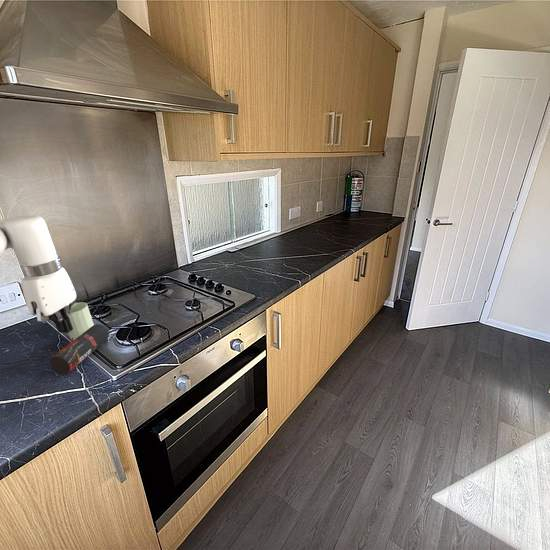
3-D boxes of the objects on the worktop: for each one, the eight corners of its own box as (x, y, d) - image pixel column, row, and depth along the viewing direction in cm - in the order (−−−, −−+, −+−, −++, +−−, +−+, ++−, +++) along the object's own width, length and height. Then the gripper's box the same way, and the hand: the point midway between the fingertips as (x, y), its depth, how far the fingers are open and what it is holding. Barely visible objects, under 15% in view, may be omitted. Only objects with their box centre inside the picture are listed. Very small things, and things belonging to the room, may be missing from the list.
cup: (63, 338, 94) (53, 313, 90) (81, 326, 100) (72, 301, 97) (83, 340, 92) (74, 314, 89) (100, 327, 99) (92, 303, 95)
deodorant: (73, 365, 77) (111, 332, 90) (53, 352, 76) (94, 321, 90) (66, 377, 79) (105, 343, 93) (47, 365, 78) (88, 332, 92)
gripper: (55, 256, 79) (76, 315, 86) (-3, 279, 65) (28, 347, 72) (79, 257, 77) (98, 317, 85) (25, 281, 64) (54, 349, 71)
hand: (66, 330), depth 79 cm, fingers closed
